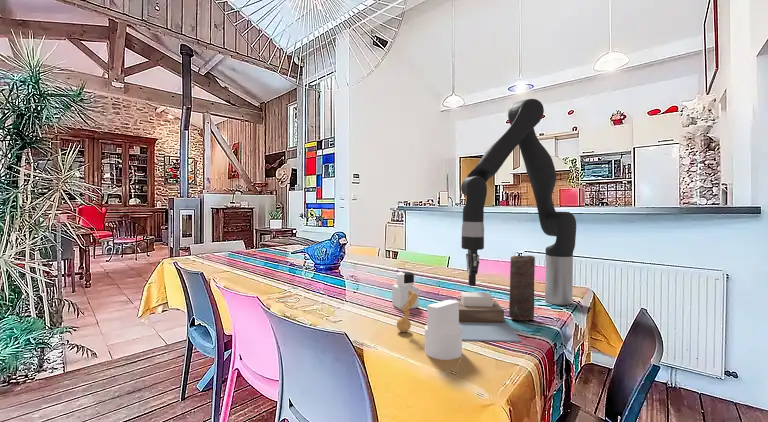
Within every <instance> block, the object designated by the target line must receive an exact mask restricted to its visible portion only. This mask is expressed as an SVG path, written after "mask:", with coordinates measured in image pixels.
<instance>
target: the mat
mask: <svg viewBox="0 0 768 422" xmlns="http://www.w3.org/2000/svg"><path fill="white" fill-rule="evenodd" d="M459 326H460V327H461V328H462V342H463V341H465V342H499V343H500V342H503V343H504V342H505V343H506V342H507V343H522V339H521V338H520V337H519V335H518V334H517V333H516V332H515V330H514V329H513V328H512V326H511V325H510V324H509V323H507V322H504V323H477V322H459Z"/></svg>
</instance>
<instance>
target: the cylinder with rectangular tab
mask: <svg viewBox="0 0 768 422" xmlns="http://www.w3.org/2000/svg"><path fill="white" fill-rule="evenodd" d="M455 300H456V299H446V300H441V301H438V302H435V303H431V304H427V309H426V312H427V317H426V318H427V321H426V325H425V326H424V353H425V355H427V356H428V357H430V358H432V359H435V360H441V361H442V360H444V361H445V360H447V361H448V360H449V361H450V360H455V359H458V358H461V357H462V355H463V341H462V328H461V327H460V326H459V301H455Z"/></svg>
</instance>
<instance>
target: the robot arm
mask: <svg viewBox="0 0 768 422" xmlns="http://www.w3.org/2000/svg"><path fill="white" fill-rule="evenodd" d="M544 108H545V107H544V106H543V104H542V102H541V100H539V99H537V98H527V99H524V100H520V101H517V102H514V103H513V104H511V105H510V107H509V109H508V112H507V117H508V123H509V124H510V126H509V128H507V129H506V131H505V132H504V133H503V134H502V135H500V136H499V138H498V139H496V141H494V143H492V144H491V145H490V147H489V148H487V150H486V152H485V153H484V154H483V155H482V157H481V158H480V159H479V161H478V163H477V164H476V165H475V167H473V169H472V170H471V171H470V172H469V173H468V174H467V176H465V178H464V180H462V182H461V187H460V190H461V193H462V194H463V195H464V196H465V197H466V198H465V205H464V206H463V208H462V225H461V247H460V248H462V249H463V250H467V253H466V254H465V260H466V268H467V269H466V271H467V274H468V280H467V281H468V286H470V287H475V286H477V285H476V277H477V275H478V271H479V265H480V255H479V254H478V251H479V250H480V251H481V250H483V249H485V223H484V218H485V217H484V214H485V211H484V208H485V204H486V200H487V195H488V193H487V192H488V186H487V182H488V181H489V180H490V179H491V178H492V177H494V176H495V175H496V174H497V173H498V171H499V170H500V169H501V167H502V166H503V165H504V163H505V162H506V160H507V159H508V157H510V155H511V153H512V152H513V151H514V150H515V149H516V147H517V146H519V151H520V153H521V156H522V160H523V163H524V165H525V170H526V173H527V176H528V179H529V183H530V185H531V189H532V193H533V195H534V199H535V203H536V208H537V214H538V219H539V223H540V229H541V230H542V232H543V234H544V235H547V236H550V237H555V238H556V239H555V242H554V243H553V244H551V245H548V246H547V247H545V253H544V254H545V259H544V260H545V262H544V263H545V266H544V267H545V270H544V272H545V273H544V274H545V277H544V280H545V281H544V283H545V284H544V301H545V302H546V303H549V304H551V305H558V306H559V305H560V306H567V305H568V306H569V305H572V304H573V284H574V282H573V281H574V278H573V276H574V275H573V274H574V271H573V270H574V256H573V255H574V251H575V248H576V239H577V238H576V235H577V219H576V217H575V215H574V214H573V213H572V212H569V211H557V210H556V209H555V205H554V201H553V193H554V189H555V186H556V183H557V171H556V168H555V163H554V160H553V158H552V156H551V155H550V153H549V152H548V150H547V149H546V147H544V145H543V144H542V143H541V141H540V140H539V138H538V136H537V133H536V132H535V127H536V126H537V125H538V124H539V123H540V121H541V120H542V119H543V116H544V113H545V109H544Z"/></svg>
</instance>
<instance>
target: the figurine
mask: <svg viewBox="0 0 768 422" xmlns="http://www.w3.org/2000/svg"><path fill="white" fill-rule="evenodd" d="M408 294H409V296H408V301H407V302H406V304H405V305H404V306H403V308H402V309H401V310H400V311H402V312H403V314H405V316H404V317H400V318H399V319H398V320H397V322H396V328H397V330H398V331H399V332H401V333H407V332H409V330H411V326H412V323H411V321H410V320H409V317H410V313H411V311H410V310H411V309H412V308H411V307H412V306H413V304H415V301H416V299H417V294H416V293H413V292H412V291H410V290H409V291H408ZM408 302H409V303H408ZM407 304H408V305H407ZM406 305H407V306H406ZM405 306H406V307H405ZM404 307H405V308H404ZM410 308H411V309H410Z"/></svg>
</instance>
